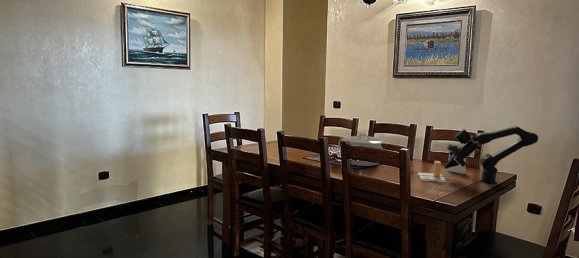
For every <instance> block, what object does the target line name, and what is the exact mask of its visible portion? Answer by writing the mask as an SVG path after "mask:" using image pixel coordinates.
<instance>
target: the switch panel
mask: <svg viewBox="0 0 579 258" xmlns="http://www.w3.org/2000/svg"><path fill="white" fill-rule="evenodd" d="M417 177H418V179H419V180H420V181H421V182H429V181H437V182H436V183H446V179H445V177H444V176H443V174H441V173H440V177H435V176H434V175H433V172H431V173H429V172H417Z"/></svg>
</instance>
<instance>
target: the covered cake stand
mask: <svg viewBox="0 0 579 258" xmlns="http://www.w3.org/2000/svg"><path fill="white" fill-rule="evenodd" d="M342 140H347V141H349V143H350V144H352V145H359V146H367V147H374V148H381V149H382V150H383V147H382V144H384V143H385V142H386V140H385V139H382V138H380V137H377V136H376V137H375V136H369V135H368V134H367V133H361V134H359V135H352V136H346V137H341V138H340V139H339V140H338V148H339V149H340V141H342ZM342 142H343V141H342ZM351 163H352V164H351V165H352V166H354V165H357V166H356V167H358V166H371V167H374V166H376V165H377V164H375V163H371V162H365V161H357V160H352V161H351ZM373 165H374V166H373Z"/></svg>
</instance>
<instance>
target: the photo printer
mask: <svg viewBox="0 0 579 258" xmlns="http://www.w3.org/2000/svg"><path fill="white" fill-rule="evenodd" d="M450 156H451V155H450V154H449V153H448V161H449V160H450ZM464 161H465V162H466V161H467V157H466V158H465V159H464ZM466 163H467V162H466ZM447 171H448V172H451V173H457V174H461V175H464V174H465V173H466V165H465V166H464V167H462V166H461V165H460V164H459V165H458V166H454V167H450V168H447Z"/></svg>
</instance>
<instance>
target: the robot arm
mask: <svg viewBox="0 0 579 258" xmlns="http://www.w3.org/2000/svg"><path fill="white" fill-rule="evenodd" d="M513 135H516V136H518V138H517V140H515V141H514V142H512V143H511V144H508V145H506V147H503V148H501V150H499V151H497V152H495V153H494V154H489V153H486V154H485V155H483V156H481V158H480V159H479V165H480V167H482V173H481V179H480V180H479V181H480V182H482V183H486V184H498V181H496V176H497V173H498V172H499V171H498V170H499V169H498V168H497V167H496V166H497V164H498V163H499V162H500V161H501V160H503V159H504V158H506V157H508V156H510V155H512V154H513V153H515V152H517V151H518V150H520V149H522V148H525V147H530V146H531V145H535V144H536V143H537V142H538V141H539V136H538V134H536V133H534V132H531V131H527V130H524V129H523V128H521V127H519V126H517V125H513V126H511V127H507V128H502V129H499V130H496V131H489V132H477V133H476V134H469V132H468V131H467V129H465V128H463V129H462V130H460V131H458V132H457V133H455V134H454V138H455V139H456V140H457V141H458V142H459V143H460V144H461V145H463V146H460V147H459V146H458V145H455V144H454V145H453V144H451V143H449V144H448V145H447V147H446V149H447V150H448V152H447V153H448V155H449V154H450V155H451V156H450V160H449V159H448V160H447V163H446V164H445V165H444V169H445V170H446V169H447V170H448V168H450V167H454V166H458V165H459V164H460V165H461V166H462V167H464V166H465V167H466V163H467V162H465V161H464V159H465V158H466V159H467V157H468V158H469V157H470V156H471V155H472V154H473V153H474V152H475V151H476V150H477V151H479V152H481V151H482V145H486V144H489V143H491V142H492V141H494V140H498V139H502V138H505V137H509V136H513ZM478 144H479V145H478Z"/></svg>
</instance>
